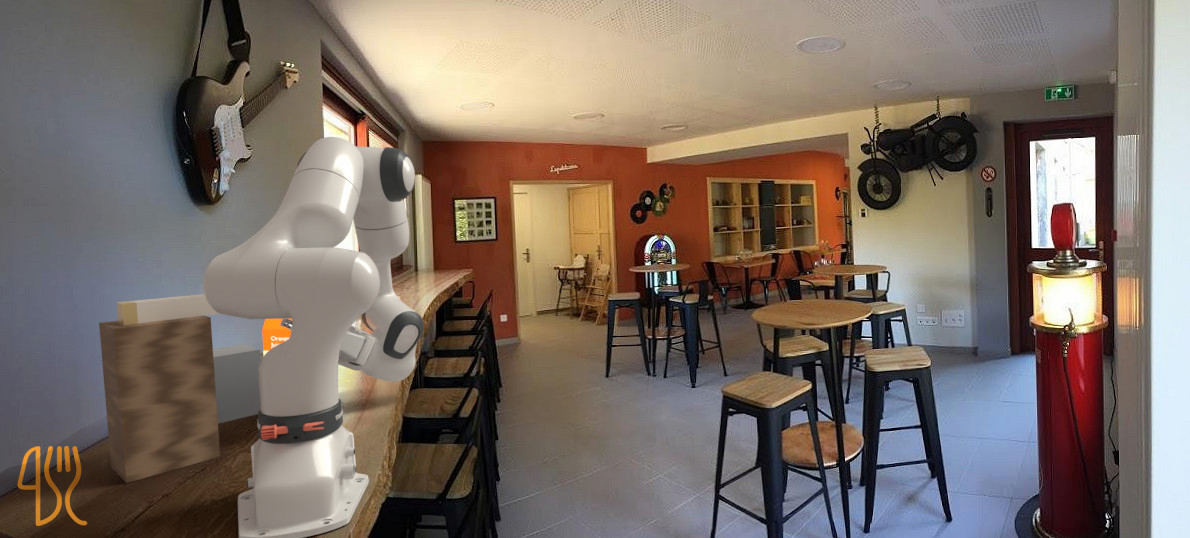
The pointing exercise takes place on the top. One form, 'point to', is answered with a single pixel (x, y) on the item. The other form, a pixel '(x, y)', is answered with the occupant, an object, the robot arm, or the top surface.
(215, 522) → the top surface
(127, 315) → the cream tan bar
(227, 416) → the grey block
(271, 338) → the orange juice
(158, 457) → the walnut post
